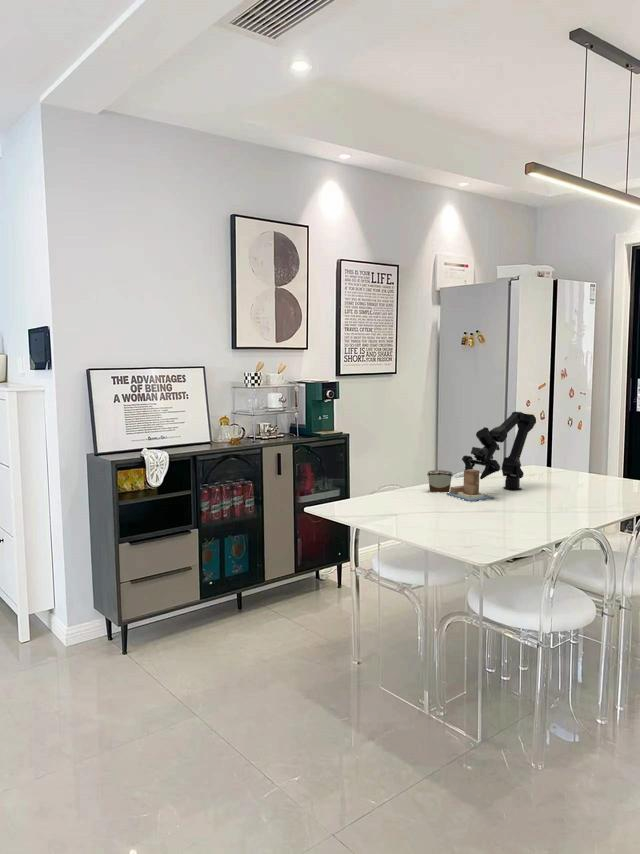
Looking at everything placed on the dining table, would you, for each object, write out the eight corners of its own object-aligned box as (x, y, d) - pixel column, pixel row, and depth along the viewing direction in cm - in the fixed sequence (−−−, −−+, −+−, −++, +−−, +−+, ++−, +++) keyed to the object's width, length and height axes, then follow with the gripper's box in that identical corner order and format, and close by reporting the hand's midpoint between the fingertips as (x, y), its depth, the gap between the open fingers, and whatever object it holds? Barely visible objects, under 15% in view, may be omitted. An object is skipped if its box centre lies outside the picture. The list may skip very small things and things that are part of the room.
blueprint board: (469, 492, 333) (470, 484, 332) (493, 499, 318) (493, 490, 317) (446, 494, 326) (446, 486, 326) (469, 502, 311) (470, 493, 311)
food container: (451, 490, 337) (451, 470, 336) (452, 492, 331) (452, 472, 330) (425, 489, 338) (426, 469, 337) (426, 492, 332) (427, 471, 331)
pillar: (470, 494, 323) (470, 469, 322) (478, 496, 319) (479, 470, 318) (463, 495, 320) (464, 470, 319) (471, 497, 316) (472, 471, 315)
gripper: (464, 438, 328) (449, 464, 322) (497, 442, 313) (481, 469, 308) (474, 453, 333) (459, 478, 328) (507, 458, 319) (491, 484, 314)
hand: (472, 477), depth 319 cm, fingers open, 9 cm apart
